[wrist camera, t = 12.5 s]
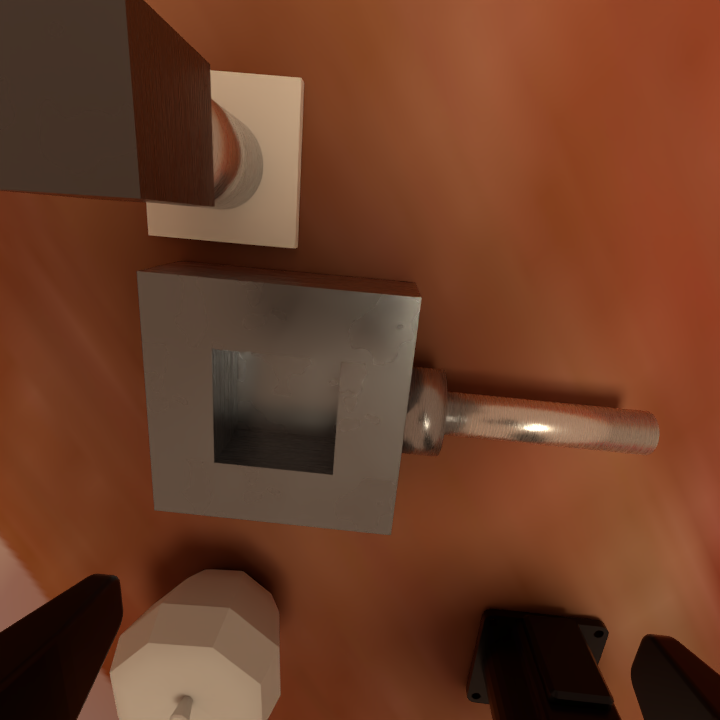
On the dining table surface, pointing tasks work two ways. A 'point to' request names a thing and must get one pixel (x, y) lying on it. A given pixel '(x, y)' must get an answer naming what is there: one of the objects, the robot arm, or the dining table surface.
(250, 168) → the dark square post
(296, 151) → the pad
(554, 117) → the dining table surface
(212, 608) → the apple
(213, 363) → the block
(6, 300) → the dining table surface
